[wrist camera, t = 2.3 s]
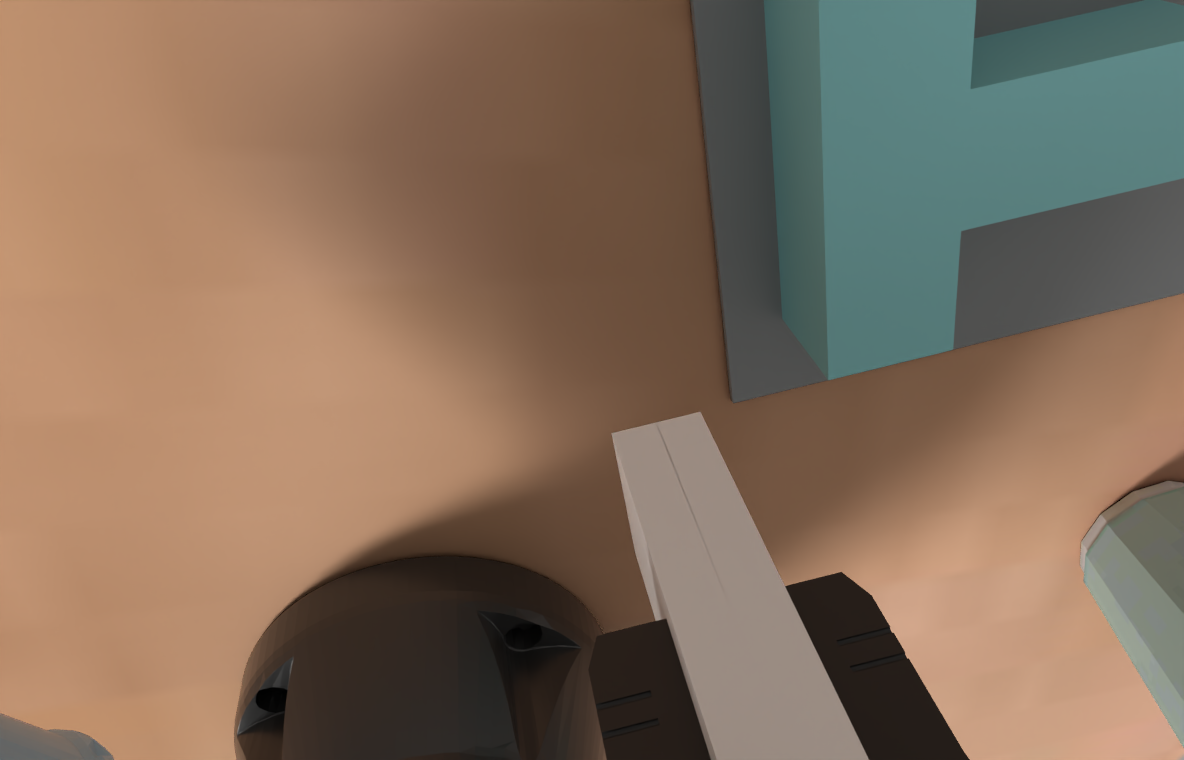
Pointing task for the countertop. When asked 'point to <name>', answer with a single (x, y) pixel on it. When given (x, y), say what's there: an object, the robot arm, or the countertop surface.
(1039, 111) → the t block
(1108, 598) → the disposable coffee cup
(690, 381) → the countertop surface
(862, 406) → the countertop surface
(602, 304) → the countertop surface
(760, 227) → the board
